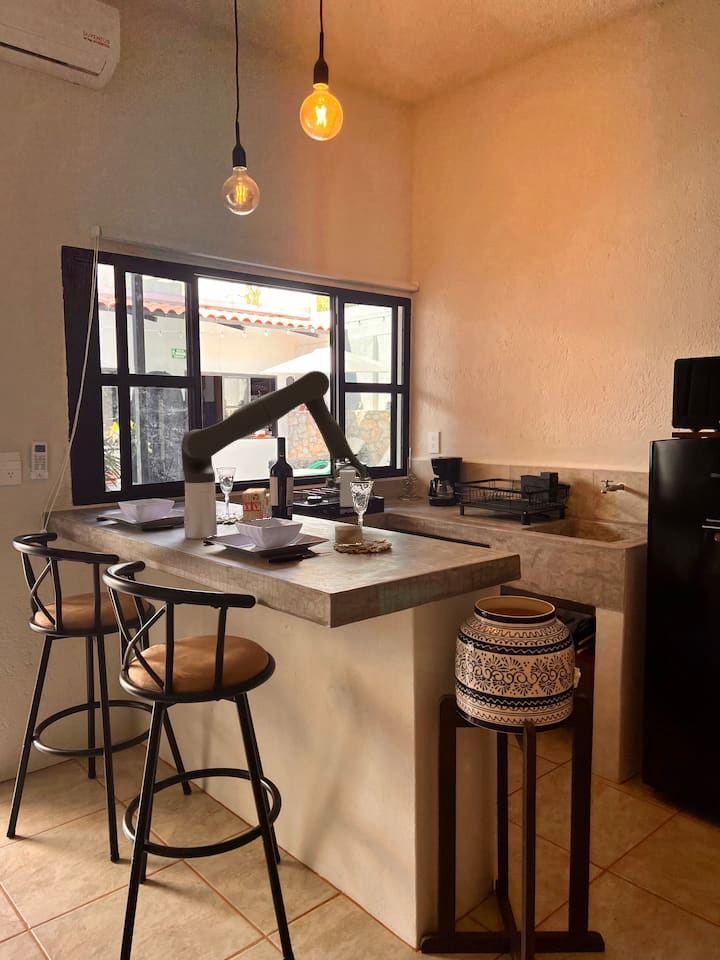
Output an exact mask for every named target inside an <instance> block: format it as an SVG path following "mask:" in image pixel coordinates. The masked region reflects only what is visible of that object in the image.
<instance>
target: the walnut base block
mask: <svg viewBox="0 0 720 960" xmlns="http://www.w3.org/2000/svg"><path fill="white" fill-rule="evenodd" d="M334 535H335V537H334V539H335V544H336V543H337V544H338V545H339V544H356V543H362V544H363V529H362V527H361V526H360V525H359V524H355V525H354V524H351V525H350V524H349V525H334ZM337 544H336V545H337Z"/></svg>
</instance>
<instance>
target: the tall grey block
mask: <svg viewBox="0 0 720 960" xmlns="http://www.w3.org/2000/svg"><path fill="white" fill-rule="evenodd" d="M355 481H356V472H355V470H340V490H339V506H340V507H341V508H342V507H343V508H344V507H345V508H346V507H356V506H357V502H356V503H355V506H354V502H353V496H352V491H351V486H350V482H355ZM354 501H355V500H354Z"/></svg>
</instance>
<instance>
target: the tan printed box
mask: <svg viewBox="0 0 720 960" xmlns="http://www.w3.org/2000/svg"><path fill="white" fill-rule="evenodd" d="M241 495H242V496H241V497H242V523H243V522H247V521H251V520H256V519H263V518H270V517H271V518H272V502H271V499H272V498H271V493H267V488H266V487H265V488H263V487H262V488H256V487H255V488H248V489H246V490H245V491H243V492H242V494H241Z"/></svg>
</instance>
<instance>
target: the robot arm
mask: <svg viewBox="0 0 720 960" xmlns="http://www.w3.org/2000/svg"><path fill="white" fill-rule="evenodd" d="M329 387H330V379H329V377H328V376H327V374H326V373H324V372H322V371H320V370H310V371H307V372H306V373H305V374H303V375H302V376H301V377H300V378H298V379H297V380H295V381H293V382H292V383H290V384H287V386H284V387H282V388H280V389H276V390H274V391H271V392H268V393H266V394H264V395H262V396H260V397H257V398H255V399H253V400H251V401H249V402H248V403H246V404H244V405H242V406H241V407H239V408H237V410H235V411H234V412H232V413H231V414H230V415H229V416H227V417H226V418H225V419H222V421H219V422H218V423H215V424H213V425H210V426H208V427H205V428H202V429H192V430H189V431H187V432H186V433H185V434H184V435H183V437H182V440H181V447H180V448H181V462H182V463H181V464H182V465H181V466H182V473H183V477H184V495H185V496H184V498H185V501H184V502H185V506H184V507H183V520H184V521H183V522H184V523H183V524H184V538H185V539H194V540H195V539H196V540H197V539H199V540H201V538H204V537H209V536H214V535H217V536H218V526H217V523H218V522H217V521H218V520H217V518H218V517H217V496H216V495H217V494H216V472H215V470H214V467H213V461H212V459H213V456H214V455H216V454H217V453H218V452H220V451H222V450H223V449H225V448H226V447H228V446H229V445H231V444H233V443H234V442H236V441H238V440H241V439H243V438H245V437H248V436H250V435H252V434H254V433H257V432H259V431H261V430H263V429H265V428H268V427H269V426H271V425H273V423H275V422H277V421H278V420H280V419H281V418H284V417H285V416H286V415H287V414H289V413H291V411H293V410H294V409H296V408H297V407H299V406H302V405H303V404H304V406H305V407H306V409H307V411H308V412H309V414H310V415H311V417H312V420H314V423H315V425H316V426H317V428H318V431H319V433H320V434H321V437H322V439H323V442H324V444H325V447H326V448H327V451H328V453H329V456H330V458H331V460H334V461H339V460H344V459H345V460H348V461H349V462H347V463H346V464H343V465H341V466H338V467H337V468H336V469H334V472H333V478H334V479H333V478H330V477H326V478H325V487H327V488H329V489H334V488H335V489H336V490H339V491H340V470H355V472H356V481H371V482H372V477H370V476H368V477H366V476H367V470H366V468H365V466H364V465H363V463H361V461H360V460H359V459H358V458H357V456H356V455H355V453H354V452H353V450H352V448H351V447H350V445H349V442H348V440H347V437H346V435H345V433H344V431H343V429H342V427H341V426H340V424H339V423H338V422H337V420H336V419H335V417H333V415H332V414H331V412H330V410H329V408H328V406H327V404H326V400H325V395H326V394H327V392H329V391H328V390H329ZM356 481H355V482H356ZM204 539H205V538H204Z"/></svg>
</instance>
